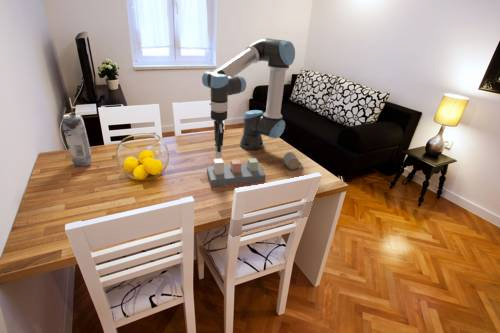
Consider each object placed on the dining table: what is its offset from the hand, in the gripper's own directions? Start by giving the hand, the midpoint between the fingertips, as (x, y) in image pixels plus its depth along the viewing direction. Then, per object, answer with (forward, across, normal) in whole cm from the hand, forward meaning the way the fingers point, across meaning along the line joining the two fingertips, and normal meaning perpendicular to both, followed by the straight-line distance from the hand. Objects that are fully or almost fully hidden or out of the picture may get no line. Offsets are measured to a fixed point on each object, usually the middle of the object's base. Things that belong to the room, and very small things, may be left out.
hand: (218, 156), depth 137 cm
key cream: (+9, 0, 0) cm, 9 cm away
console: (+13, 0, +9) cm, 16 cm away
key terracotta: (+11, 0, +9) cm, 14 cm away
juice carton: (+13, -29, -68) cm, 75 cm away
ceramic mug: (+13, -6, +45) cm, 47 cm away
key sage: (+11, 0, +18) cm, 21 cm away
